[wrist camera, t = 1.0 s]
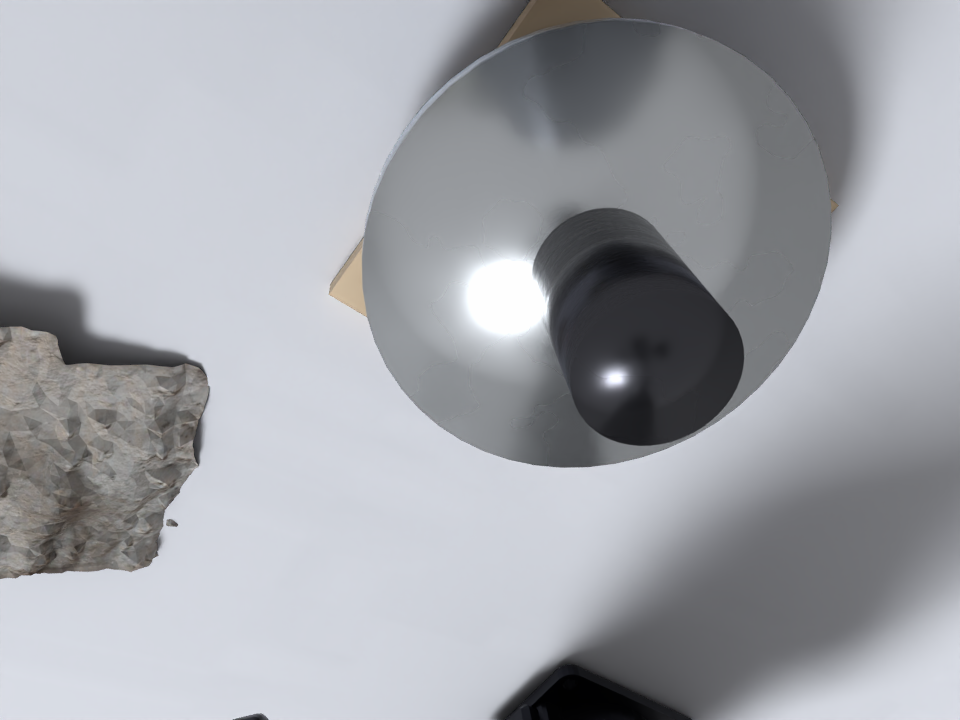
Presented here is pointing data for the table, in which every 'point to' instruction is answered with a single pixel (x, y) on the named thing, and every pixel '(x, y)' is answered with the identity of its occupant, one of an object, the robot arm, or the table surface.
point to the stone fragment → (89, 456)
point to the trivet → (546, 8)
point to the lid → (595, 242)
